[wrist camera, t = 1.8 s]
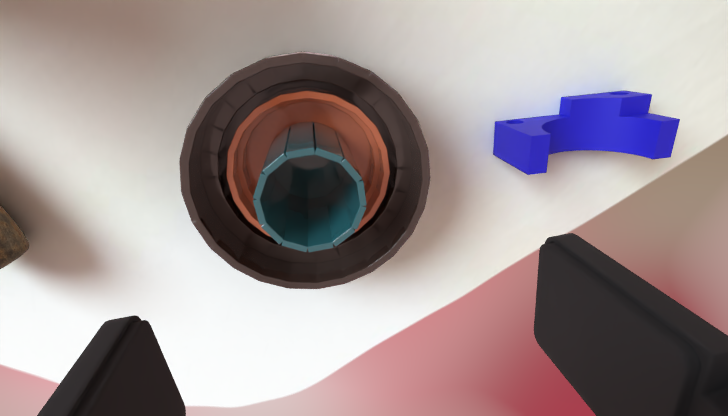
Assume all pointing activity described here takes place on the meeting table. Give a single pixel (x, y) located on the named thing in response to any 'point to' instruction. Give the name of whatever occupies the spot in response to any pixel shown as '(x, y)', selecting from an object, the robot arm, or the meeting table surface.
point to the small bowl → (296, 108)
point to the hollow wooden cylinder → (10, 240)
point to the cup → (309, 189)
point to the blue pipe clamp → (586, 130)
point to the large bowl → (245, 241)
